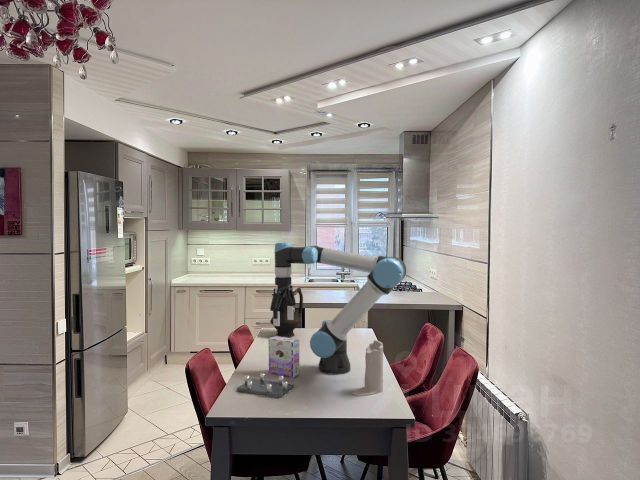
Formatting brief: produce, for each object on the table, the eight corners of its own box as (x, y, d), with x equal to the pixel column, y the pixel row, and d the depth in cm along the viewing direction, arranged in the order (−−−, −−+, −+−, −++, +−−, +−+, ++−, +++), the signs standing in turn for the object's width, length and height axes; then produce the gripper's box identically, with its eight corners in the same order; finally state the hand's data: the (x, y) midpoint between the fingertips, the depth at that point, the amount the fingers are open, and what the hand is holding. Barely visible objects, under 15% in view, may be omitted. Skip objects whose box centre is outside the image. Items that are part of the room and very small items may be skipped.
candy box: (300, 374, 193) (300, 339, 192) (292, 378, 188) (292, 341, 187) (276, 369, 200) (276, 335, 200) (268, 373, 195) (268, 337, 195)
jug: (275, 341, 251) (275, 290, 251) (266, 334, 268) (266, 287, 268) (308, 337, 260) (308, 288, 259) (297, 331, 277) (297, 285, 276)
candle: (348, 391, 173) (348, 342, 172) (375, 385, 179) (375, 338, 179) (358, 397, 166) (358, 347, 166) (386, 391, 173) (386, 342, 173)
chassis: (293, 388, 176) (293, 377, 176) (280, 398, 165) (280, 387, 165) (252, 381, 184) (252, 371, 184) (237, 391, 173) (236, 380, 173)
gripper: (288, 273, 206) (288, 316, 206) (261, 278, 183) (262, 327, 184) (302, 273, 203) (302, 318, 204) (277, 279, 180) (277, 329, 181)
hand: (283, 322), depth 194 cm, fingers open, 13 cm apart
